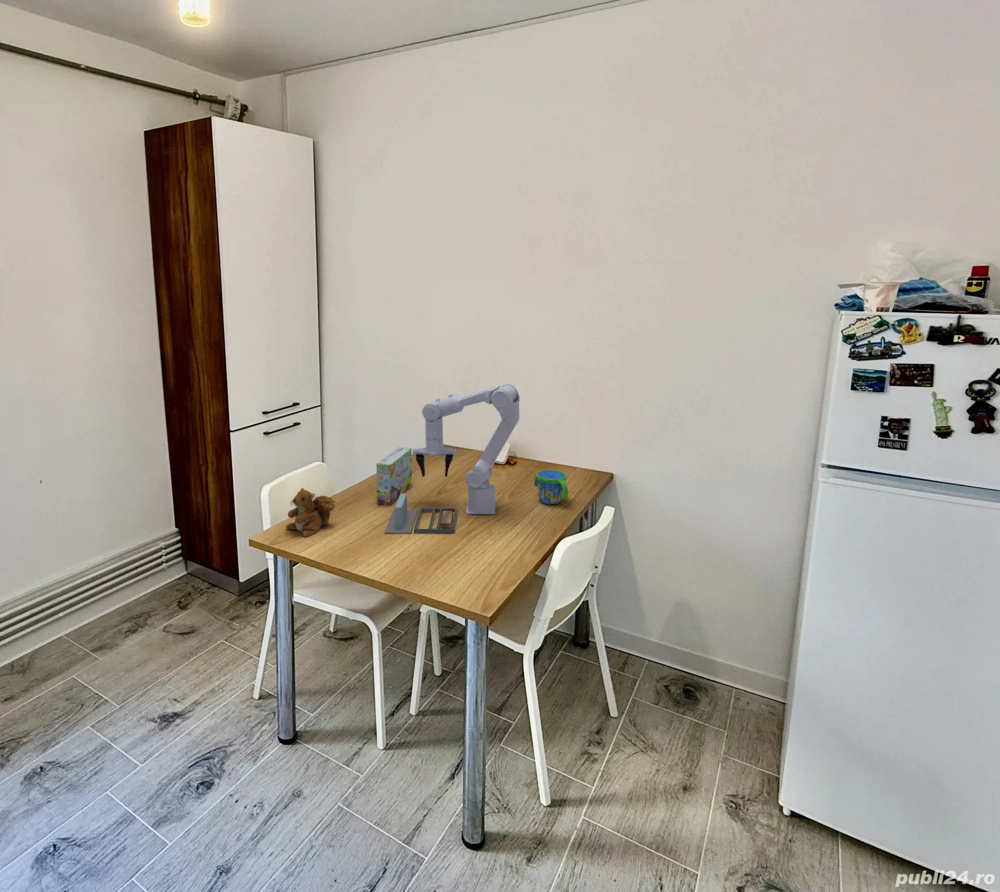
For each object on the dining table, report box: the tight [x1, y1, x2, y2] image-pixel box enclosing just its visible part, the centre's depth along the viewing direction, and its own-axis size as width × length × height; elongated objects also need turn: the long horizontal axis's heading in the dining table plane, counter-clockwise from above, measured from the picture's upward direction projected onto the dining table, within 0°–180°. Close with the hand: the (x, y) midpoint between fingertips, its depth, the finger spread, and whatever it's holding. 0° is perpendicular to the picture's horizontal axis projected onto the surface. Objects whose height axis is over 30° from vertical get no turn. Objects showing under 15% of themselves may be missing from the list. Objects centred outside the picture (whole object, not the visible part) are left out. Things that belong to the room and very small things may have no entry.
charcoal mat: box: [384, 509, 419, 535], centre depth 190 cm, size 8×18×1 cm, turn 1°
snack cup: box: [533, 469, 569, 505], centre depth 207 cm, size 16×10×10 cm
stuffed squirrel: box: [285, 487, 337, 538], centre depth 183 cm, size 10×14×13 cm
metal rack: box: [413, 507, 458, 535], centre depth 190 cm, size 12×17×1 cm
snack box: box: [376, 446, 413, 506], centre depth 211 cm, size 21×6×15 cm, turn 168°
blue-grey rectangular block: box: [394, 492, 408, 528], centre depth 189 cm, size 2×12×7 cm, turn 1°
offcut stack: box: [440, 511, 454, 529], centre depth 190 cm, size 3×12×2 cm, turn 1°
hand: (434, 475), depth 202 cm, fingers open, 7 cm apart
